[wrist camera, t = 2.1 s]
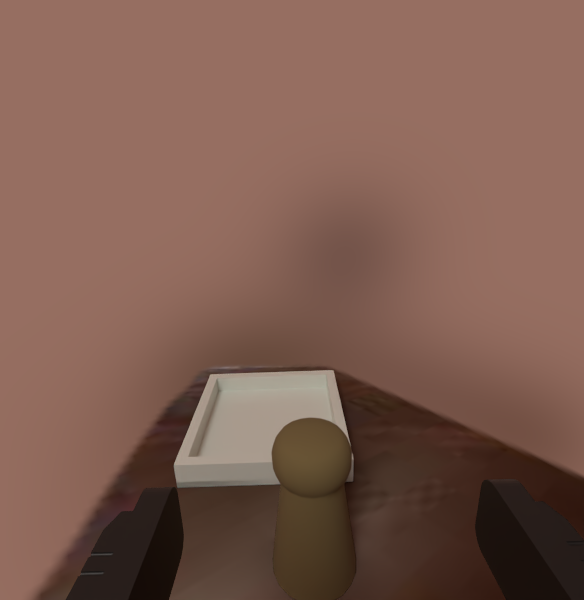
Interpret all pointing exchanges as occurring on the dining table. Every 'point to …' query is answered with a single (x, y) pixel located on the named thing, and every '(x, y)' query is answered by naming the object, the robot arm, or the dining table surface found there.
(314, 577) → the cork
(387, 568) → the dining table surface
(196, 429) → the serving tray
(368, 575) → the dining table surface
